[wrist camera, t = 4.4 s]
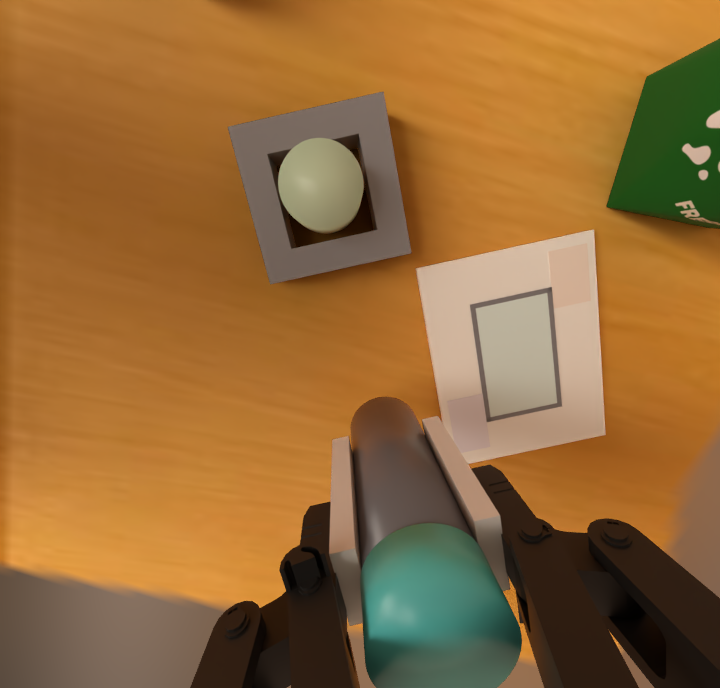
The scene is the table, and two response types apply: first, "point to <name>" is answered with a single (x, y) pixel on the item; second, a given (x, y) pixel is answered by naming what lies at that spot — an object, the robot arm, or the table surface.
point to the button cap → (321, 185)
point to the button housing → (373, 139)
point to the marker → (422, 565)
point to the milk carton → (675, 144)
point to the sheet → (516, 346)
